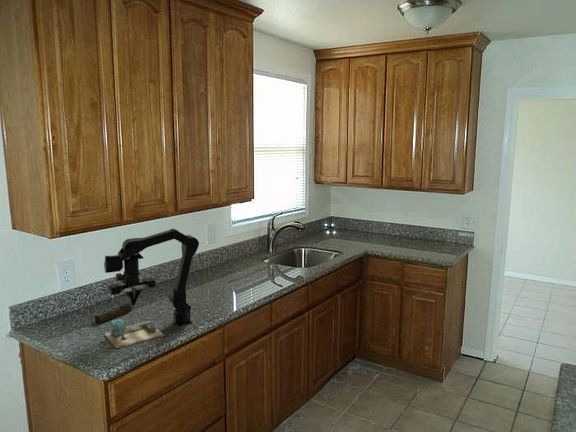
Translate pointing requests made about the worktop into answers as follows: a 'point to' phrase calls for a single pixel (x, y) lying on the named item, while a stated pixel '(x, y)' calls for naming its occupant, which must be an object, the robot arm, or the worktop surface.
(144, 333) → the template board
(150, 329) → the fixed leg
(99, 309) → the worktop surface
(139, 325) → the rail
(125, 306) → the hand tool
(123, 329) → the sliding leg
